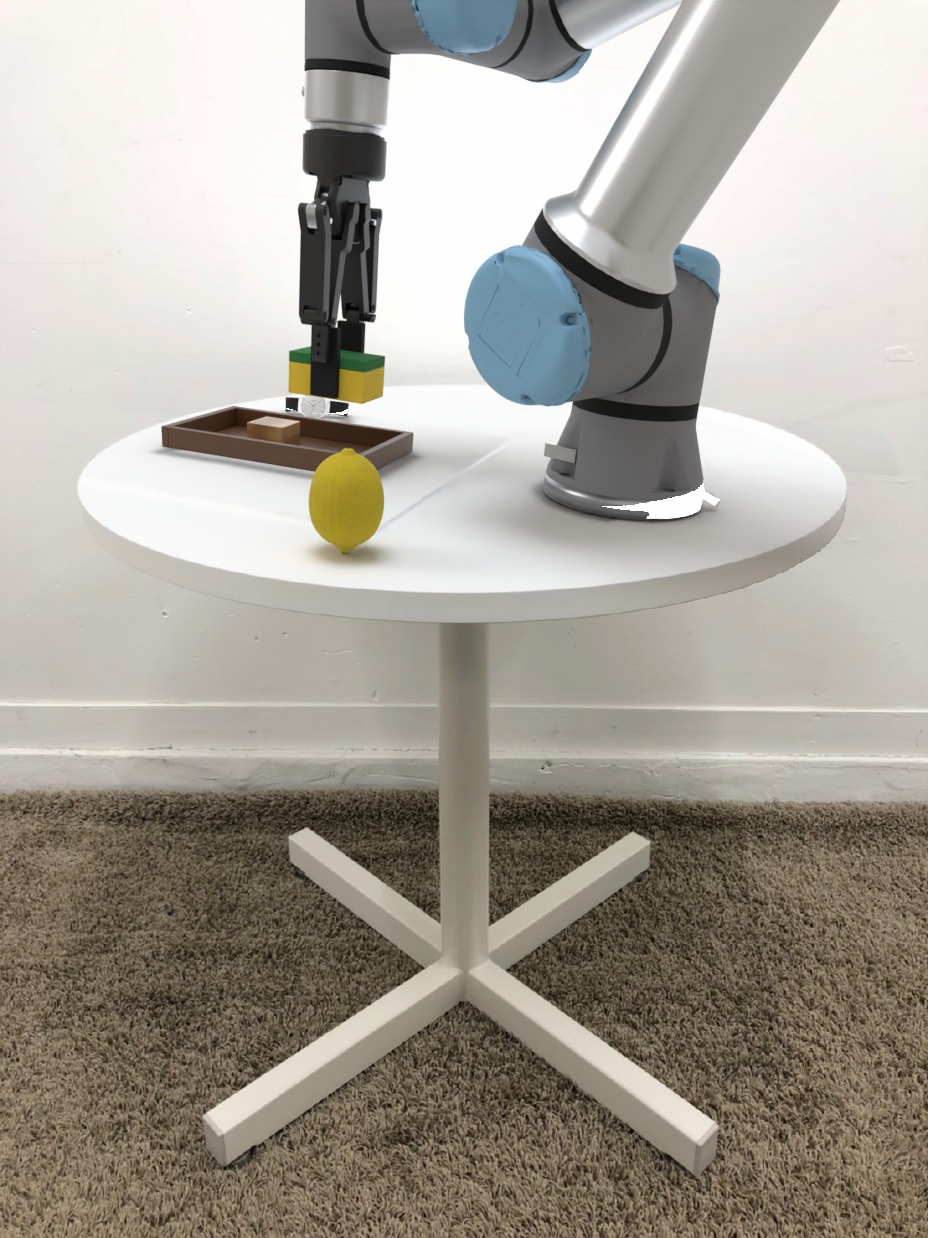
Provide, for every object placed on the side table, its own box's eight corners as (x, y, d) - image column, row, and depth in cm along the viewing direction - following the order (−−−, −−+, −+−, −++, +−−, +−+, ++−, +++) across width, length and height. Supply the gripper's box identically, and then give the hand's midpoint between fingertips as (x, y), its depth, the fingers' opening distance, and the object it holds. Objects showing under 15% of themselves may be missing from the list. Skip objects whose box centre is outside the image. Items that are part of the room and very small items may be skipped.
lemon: (305, 563, 70) (307, 455, 67) (310, 539, 75) (311, 437, 72) (382, 567, 71) (387, 459, 68) (381, 542, 76) (386, 441, 73)
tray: (412, 456, 103) (413, 432, 102) (360, 484, 91) (361, 457, 90) (233, 428, 109) (233, 405, 108) (162, 451, 97) (160, 426, 96)
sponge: (311, 385, 99) (312, 345, 98) (383, 396, 97) (385, 355, 96) (288, 392, 95) (288, 350, 93) (362, 404, 93) (364, 361, 91)
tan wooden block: (300, 445, 101) (300, 421, 100) (281, 452, 98) (282, 427, 97) (266, 439, 102) (266, 416, 101) (246, 446, 99) (246, 422, 98)
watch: (280, 419, 115) (280, 388, 114) (290, 412, 120) (290, 382, 118) (344, 425, 115) (345, 394, 114) (351, 417, 119) (352, 388, 118)
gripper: (349, 137, 96) (341, 375, 105) (257, 117, 80) (257, 400, 89) (419, 142, 94) (405, 384, 103) (340, 122, 78) (332, 411, 87)
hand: (337, 391), depth 96 cm, fingers closed on sponge, 5 cm apart
